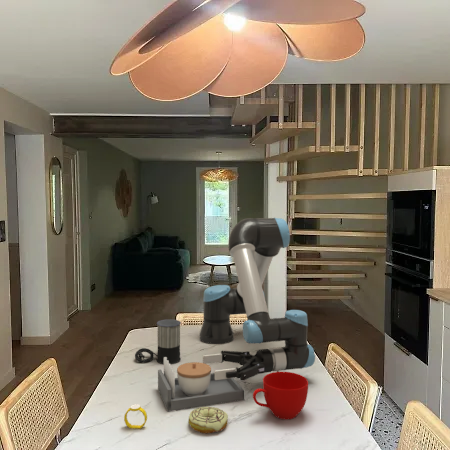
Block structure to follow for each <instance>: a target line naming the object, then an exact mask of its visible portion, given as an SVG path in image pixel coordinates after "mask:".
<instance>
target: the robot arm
mask: <svg viewBox="0 0 450 450" xmlns="http://www.w3.org/2000/svg"><path fill="white" fill-rule="evenodd" d="M290 241H291V234H290V229H289V225H288V223H287V221H286V219H284V218H279V217H266V218H265V217H263V218H262V217H261V218H259V217H257V218H256V217H255V218H253V217H248V218H244V219H241V220H240V221H239V222H237V223H236V224H235V225H234V226H233V227H232V230H231V232H230V234H229V237H228V250H229V251H228V252H229V255H230V257H232V258H233V260H234V266H235V269H236V274H237V278H238V283H237V286H236V287H233V288H231V287H230V285H227V284H217V285H212V286H209V287H207V288H206V289H205V290H204V291H203V300H202V301H203V321H202V322H203V323H202V324H201V325H202V326H201V329H200V331H199V340H200V341H201V342H202V343H205V344H211V345H220V344H221V345H222V344H227V343H230V342H233V341H234V331H233V328H232V324H231V322H230V320H231V319H230V317H231V315H233V316H234V315H246V318H247V319H246V320H245V321H244V322H243V324H242V337H243V340H244V341H245V342H246V343H248V344H264V343H271V342H284V346H278V347H270V348H262V349H260V348H259V349H257V351H256V352H255V354H251V352H250V351H237V350H236V351H235V350H234V351H233V350H221V351H220V353H214V354H205V355H202V363H204V364H207V365H209V364H210V365H211V364H217V363H221V364H222V363H224V362H227V363H228V362H229V363H235V364H239V366H240V367H236V368H234V367H233V368H227V369H226V368H225V369H216V370H214V373H215V380H221V379H229V378H234V379H235V378H236V379H240V381H245V380H248V379H251V378H252V377H255V376H257V375H261V374H266V373H267V374H268V373H273V372H283V371H287V370H296V369H301V370H302V369H305V368H309V367H313V365H314V364H315V361H316V354H315V349H314V348H313V346H312V345H311V344H308V327H309V324H308V322H309V321H308V314H307V312H305V311H303V310H300V309H290V310H286V311H285V313H284V317H278V318H277V317H274V318H271V316H270V313H269V309H268V306H267V302H266V297H265V292H264V290H263V283H264V281H265V279H266V277H267V273H268V270H269V268H270V266H271V264H272V261H273V258H274V257H276V256H277V255H278V254H279V253H280V251H281V249H285V248H288V247H289V245H290V243H291V242H290Z"/></svg>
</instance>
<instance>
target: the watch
mask: <svg viewBox="0 0 450 450" xmlns="http://www.w3.org/2000/svg"><path fill="white" fill-rule="evenodd" d="M130 411H131V412H138V411H139V412H140V413H142V415H143V416H144V422H143V423H141V425H138V424H137V425H136V424H131V423H130V422H129V419H128V413H129V412H130ZM123 418H124V419H123V421H124V423H125V425H126V426H127V428H128V429H133V430H134V429H135V430H136V429H137V430H138V429H140V430H141V429H142V428H144V427H145V425H146V422H147V420H148V415H147V412H146V410H145V409H144V408H143V407H141V404H138V403H136V404H132V405H130V407H129V408H128V409H127V411H125V413H124V417H123Z"/></svg>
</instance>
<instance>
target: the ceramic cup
mask: <svg viewBox="0 0 450 450" xmlns="http://www.w3.org/2000/svg"><path fill="white" fill-rule="evenodd" d="M262 387H263V388H256V389H255V390H254V391H253V393H252V398H253V399H252V400H253V401H254V403H255V404H256V405H258V406H259V407H262V408H268V409H269V410H270V412H271V413H272V414H273V415H274V416H275V417H276V418H278V419H279V420H280V419H281V420H293V419H294V418H297V416H298V415H299V414H300V413H301V412H302V411H303V409H304V407H305V406H306V403H307V398H308V394H309V393H308V392H309V381H308V379H307V378H306V377H305V376H303V375H301V374H299V373H296V372H289V371H279V372H276V371H274V372H273V371H272V372H269V373H267V374H266V375H264V376H263V378H262ZM258 393H263V396H264V401H265V403H262V402H259V401H258V400H257V394H258Z"/></svg>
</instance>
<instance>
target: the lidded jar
mask: <svg viewBox="0 0 450 450" xmlns="http://www.w3.org/2000/svg"><path fill="white" fill-rule="evenodd" d="M176 373H177V377H176V378H178V383H179V386H180V388H181V390H182V391H183V392H184V393H185V394H186V395H187V396H200V395H202V394H203V393H204V391H206V389H207V388H208V386H209V384H210V379H211V374H212V367H211V366H210V365H209V364H204V363H203V362H200V361H199V362H197V361H196V362H186V363H183V364H181V365H179V366H178V367H177V369H176Z"/></svg>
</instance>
